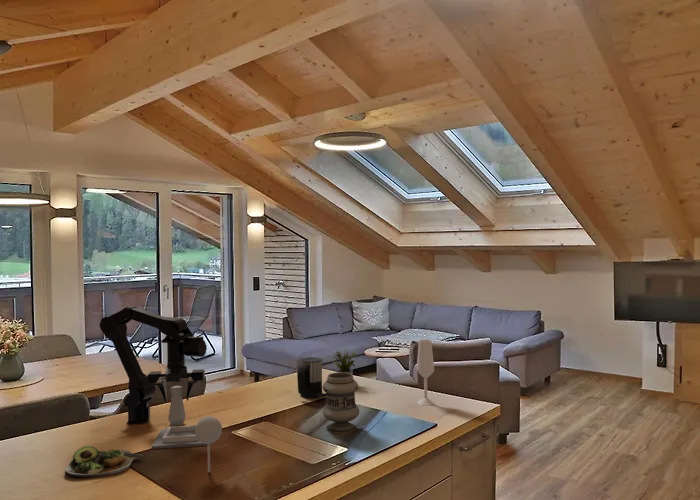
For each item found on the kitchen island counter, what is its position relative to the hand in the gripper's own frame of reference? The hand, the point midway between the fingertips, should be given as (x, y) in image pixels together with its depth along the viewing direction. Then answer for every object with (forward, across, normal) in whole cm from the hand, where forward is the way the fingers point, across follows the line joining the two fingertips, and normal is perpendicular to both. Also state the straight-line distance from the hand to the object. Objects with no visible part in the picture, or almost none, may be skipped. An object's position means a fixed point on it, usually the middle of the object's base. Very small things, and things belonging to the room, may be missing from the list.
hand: (176, 400), depth 193 cm
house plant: (+8, +63, +42) cm, 76 cm away
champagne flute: (+8, +91, +9) cm, 92 cm away
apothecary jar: (+8, +55, -15) cm, 58 cm away
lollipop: (+8, +15, -44) cm, 47 cm away
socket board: (+8, +4, -15) cm, 17 cm away
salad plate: (+9, -16, -34) cm, 39 cm away
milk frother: (+8, +51, +25) cm, 58 cm away
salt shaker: (+8, 0, 0) cm, 8 cm away
